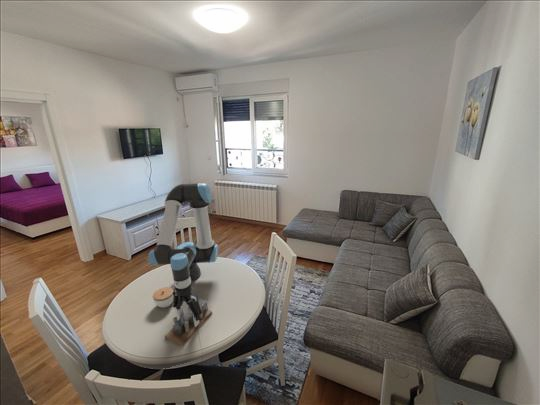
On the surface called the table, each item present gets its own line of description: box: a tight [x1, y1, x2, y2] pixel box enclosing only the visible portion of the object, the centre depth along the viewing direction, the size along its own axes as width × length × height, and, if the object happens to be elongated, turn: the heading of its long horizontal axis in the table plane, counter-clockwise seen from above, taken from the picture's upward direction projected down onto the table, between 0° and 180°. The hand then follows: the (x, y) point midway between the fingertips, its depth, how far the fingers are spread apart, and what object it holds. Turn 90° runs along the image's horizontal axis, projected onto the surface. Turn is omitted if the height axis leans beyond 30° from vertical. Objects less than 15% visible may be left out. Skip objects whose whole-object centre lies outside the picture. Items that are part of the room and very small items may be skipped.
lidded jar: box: [152, 286, 174, 309], centre depth 137 cm, size 11×11×9 cm
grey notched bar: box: [172, 298, 209, 337], centre depth 124 cm, size 20×5×5 cm, turn 155°
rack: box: [164, 305, 213, 347], centre depth 122 cm, size 22×11×8 cm, turn 155°
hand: (189, 321), depth 123 cm, fingers open, 9 cm apart
